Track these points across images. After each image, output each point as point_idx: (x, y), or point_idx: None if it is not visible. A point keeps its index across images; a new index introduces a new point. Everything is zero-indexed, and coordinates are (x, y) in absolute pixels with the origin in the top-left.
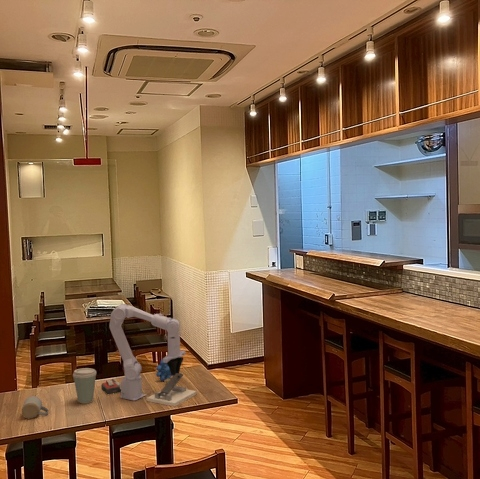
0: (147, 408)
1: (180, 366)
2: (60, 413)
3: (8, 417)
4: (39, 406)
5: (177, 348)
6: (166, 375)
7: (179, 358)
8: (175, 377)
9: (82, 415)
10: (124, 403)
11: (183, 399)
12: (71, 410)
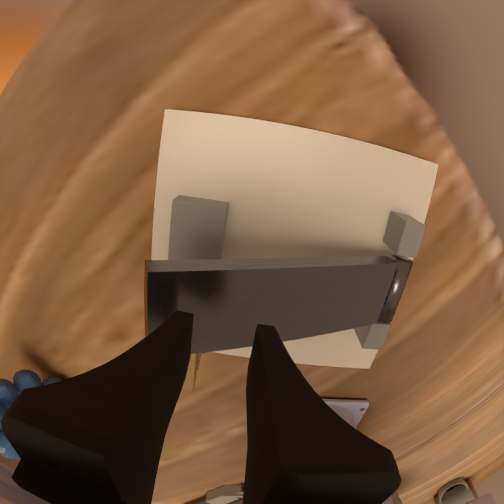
0: (457, 299)
1: (132, 347)
2: (451, 471)
3: None
4: (466, 497)
5: None
6: None
7: (101, 481)
8: (221, 316)
9: (477, 434)
10: (395, 413)
11: (342, 136)
12: (436, 470)
